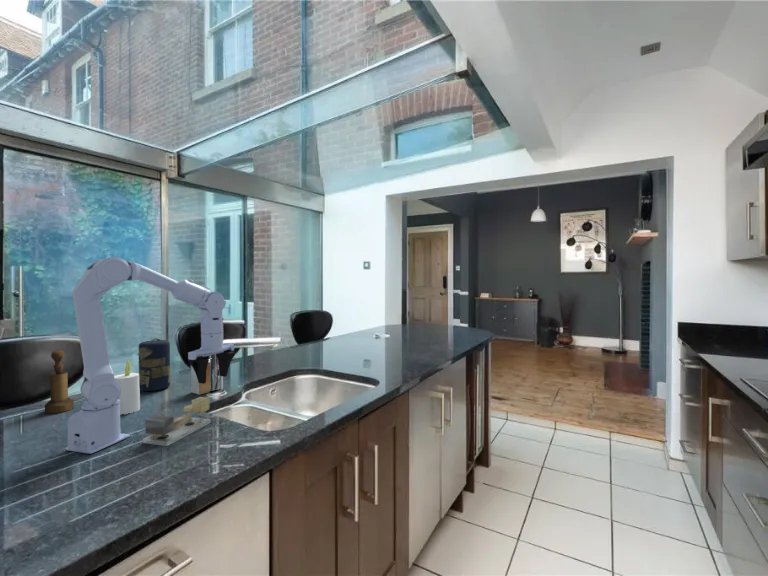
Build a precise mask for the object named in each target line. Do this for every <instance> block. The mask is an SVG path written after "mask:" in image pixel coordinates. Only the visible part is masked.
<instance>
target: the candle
mask: <svg viewBox="0 0 768 576" xmlns="http://www.w3.org/2000/svg"><path fill="white" fill-rule="evenodd" d="M114 378H115V381H116V382H117V383H118V384H119V385H120V387H121V395H120V397H119V400H120V416H122V414H124V415H129V414H128V413H130V414H133V412H134V413H136V412H138V411H139V410H141V393H140V390H141V389H140V387H139V372H138V373H137V372H131V361H130V360H129V359H128V360H127V361H126V365H125V369H124V373H123V374H116V375H114Z"/></svg>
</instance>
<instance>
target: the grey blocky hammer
mask: <svg viewBox="0 0 768 576" xmlns="http://www.w3.org/2000/svg"><path fill="white" fill-rule="evenodd" d="M191 417H192V414H188V413H186V414H183V415H182V416H180V417H177V418H175V419H174V416H167V415H159V414H158V415H157V414H156V415H154V416H151V417H149V418H146V419H145V420H144V421H145V422H144V423H145V425H144V426H145V434H150V435H152V436H157V435H162V437H166V434H167V433H169V432H171V431H173V430H174V427H176V426H178V425H180V424H182V423H184V422H186V421H188V420H191Z"/></svg>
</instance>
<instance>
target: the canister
mask: <svg viewBox="0 0 768 576" xmlns="http://www.w3.org/2000/svg"><path fill="white" fill-rule="evenodd" d="M138 373H139V387H140V390H141V391H143V392H152V391H153V392H154V391H160V390H161V391H162V390H164V389H166V388H169V386H171V382H172V381H171V343H170V341H169V340H167V339H160V338H155V337H154V338H152V339H151V340H146V341H142V342H140V343H139V344H138Z"/></svg>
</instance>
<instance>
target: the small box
mask: <svg viewBox="0 0 768 576" xmlns="http://www.w3.org/2000/svg"><path fill="white" fill-rule="evenodd" d="M210 359H211V358H209V359H208V360H209V362H208V365H207V371H206V383H204V384H202V383H198V379H197V376H196V373H195V371H194V369H193V367H192V366H191V365H190V382H191V384H190V385H191V386H190V387H191V390H190V391H191V393H192V394H196V395H198V396H199V395H203V394H207V393H210V392H209V391H210V389H211V382H210Z"/></svg>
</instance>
